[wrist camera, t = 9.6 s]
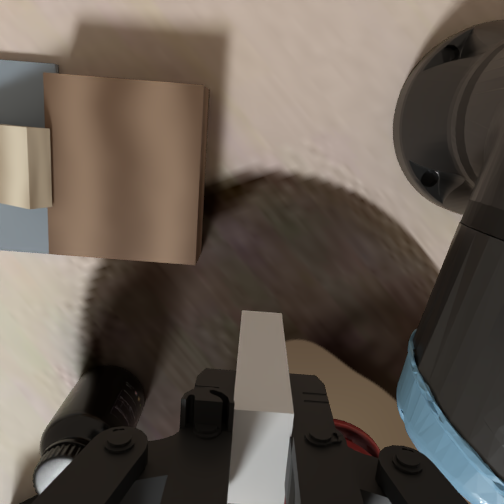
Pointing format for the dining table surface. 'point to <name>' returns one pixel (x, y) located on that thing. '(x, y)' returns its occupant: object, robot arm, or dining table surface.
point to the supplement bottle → (87, 418)
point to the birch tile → (25, 166)
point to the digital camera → (30, 500)
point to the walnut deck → (126, 167)
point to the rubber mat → (31, 115)
